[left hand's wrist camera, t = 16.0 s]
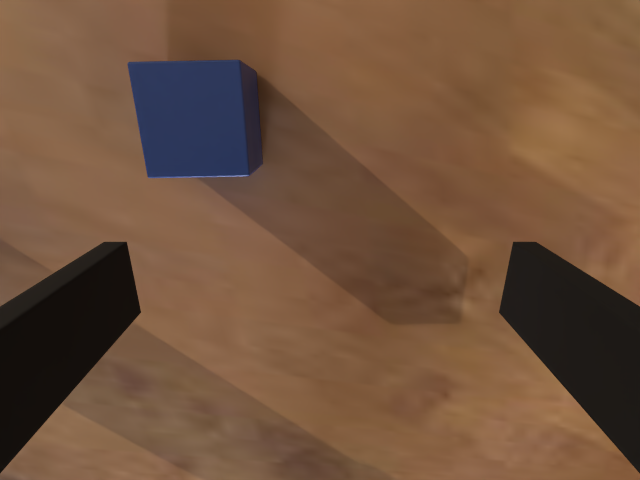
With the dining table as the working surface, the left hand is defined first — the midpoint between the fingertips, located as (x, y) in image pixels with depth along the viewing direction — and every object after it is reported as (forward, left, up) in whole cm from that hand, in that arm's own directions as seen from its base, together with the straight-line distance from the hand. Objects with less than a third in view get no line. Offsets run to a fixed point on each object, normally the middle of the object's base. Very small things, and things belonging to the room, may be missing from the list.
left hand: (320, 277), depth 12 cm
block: (-1, +8, -10) cm, 13 cm away
